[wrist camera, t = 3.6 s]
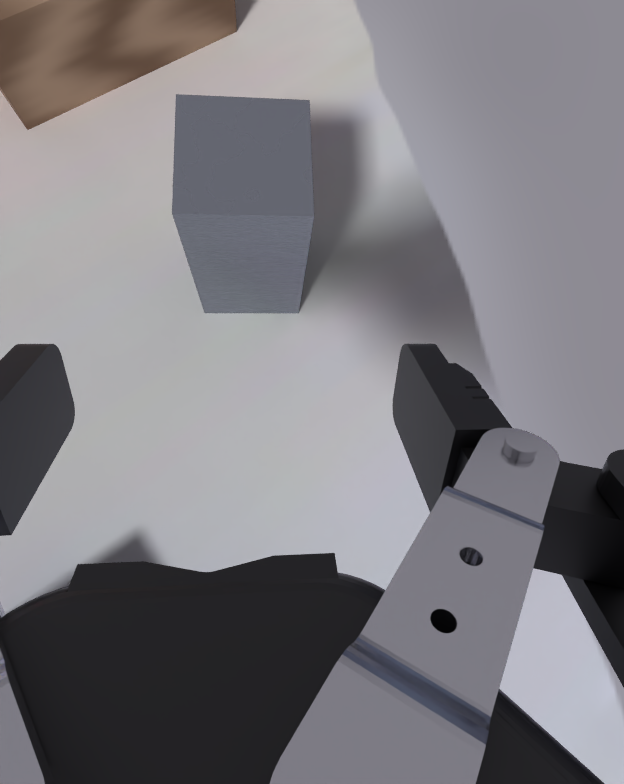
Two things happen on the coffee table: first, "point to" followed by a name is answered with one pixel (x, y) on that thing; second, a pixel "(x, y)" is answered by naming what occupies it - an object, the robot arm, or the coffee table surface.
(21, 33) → the walnut block
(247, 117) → the square grey tin
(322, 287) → the coffee table surface
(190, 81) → the coffee table surface
